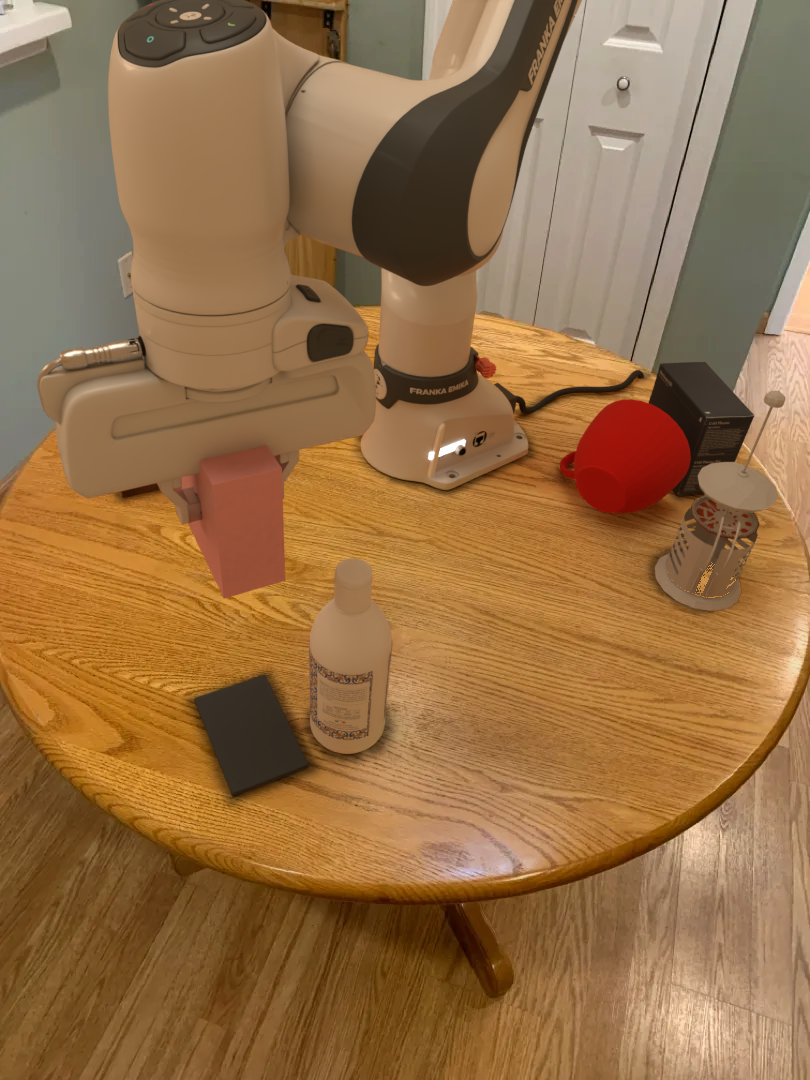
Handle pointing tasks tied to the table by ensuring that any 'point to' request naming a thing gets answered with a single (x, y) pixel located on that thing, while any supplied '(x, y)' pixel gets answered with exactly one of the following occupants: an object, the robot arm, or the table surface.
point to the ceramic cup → (628, 457)
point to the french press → (718, 530)
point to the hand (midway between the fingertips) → (231, 506)
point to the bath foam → (349, 664)
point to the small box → (701, 416)
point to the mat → (250, 735)
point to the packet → (240, 519)
